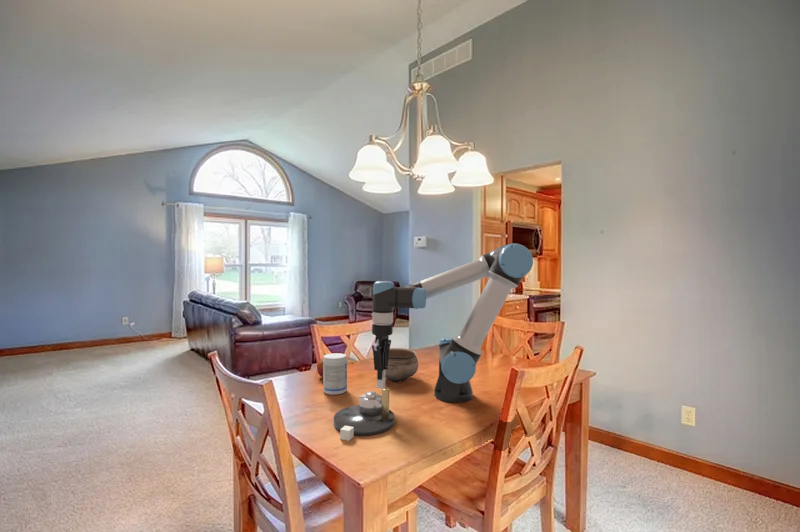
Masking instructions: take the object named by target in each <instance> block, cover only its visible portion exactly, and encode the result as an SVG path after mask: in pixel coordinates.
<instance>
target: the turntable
mask: <svg viewBox="0 0 800 532" xmlns="http://www.w3.org/2000/svg"><path fill="white" fill-rule="evenodd" d="M381 396H382V412H381V413H379V414H376V415H364V414H361V413H360V412H359V404H358V405H351V406H348V407H344V408H342V409H340V410H339V411H337V412H335V414H334V415H333V426H334V428H335V429H336V430H337V431H338V432H340V429H341V428H343V427H344V426H351V427H354V436H358V437H359V436H361V437H362V436H363V437H364V436H373V435H379V434H382V433H385V432H387V431H389V430H390V429H392V428H393V427H394V425H395V414H394V412H393V411H392V410H391V409H390V388H388V387H385V388H381Z"/></svg>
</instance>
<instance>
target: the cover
mask: <svg viewBox="0 0 800 532" xmlns="http://www.w3.org/2000/svg"><path fill="white" fill-rule="evenodd" d="M358 401H359V402H358V405H359V412H360V413H361V414H364V415H376V414H379V413H381V412H382V394H378V393H377V392H376V391H372V390H371V391H367V392H365V393H364V394H361V395H360V396H359V397H358Z"/></svg>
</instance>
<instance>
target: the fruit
mask: <svg viewBox="0 0 800 532" xmlns="http://www.w3.org/2000/svg"><path fill="white" fill-rule="evenodd" d="M316 370H317V373H318V375H319V376H320V377H321V378H323V358H322V359H319V361H318V362H317V365H316Z"/></svg>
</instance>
